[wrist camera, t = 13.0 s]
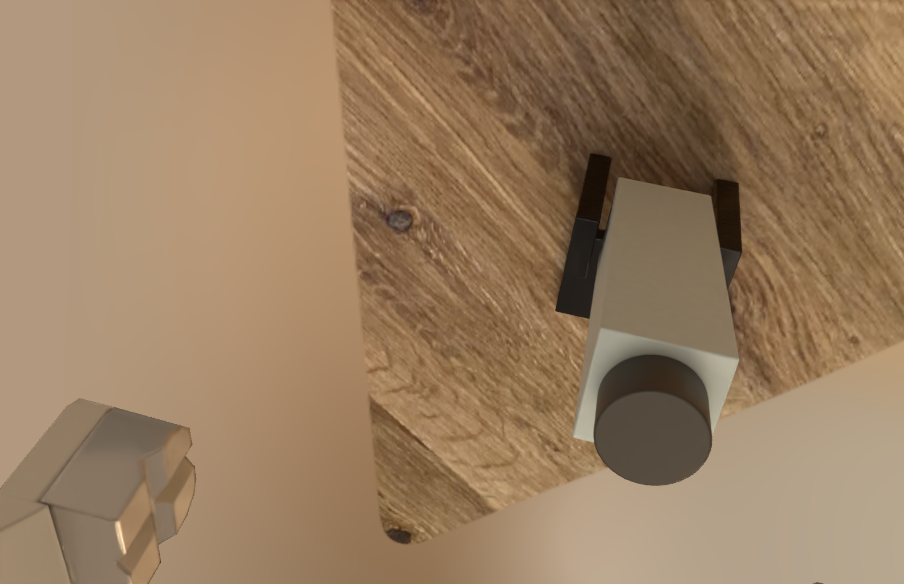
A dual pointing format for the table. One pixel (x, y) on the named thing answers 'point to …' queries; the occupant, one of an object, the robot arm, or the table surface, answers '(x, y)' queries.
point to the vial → (657, 336)
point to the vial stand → (589, 239)
